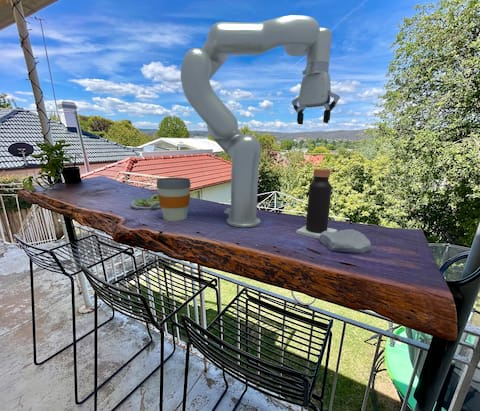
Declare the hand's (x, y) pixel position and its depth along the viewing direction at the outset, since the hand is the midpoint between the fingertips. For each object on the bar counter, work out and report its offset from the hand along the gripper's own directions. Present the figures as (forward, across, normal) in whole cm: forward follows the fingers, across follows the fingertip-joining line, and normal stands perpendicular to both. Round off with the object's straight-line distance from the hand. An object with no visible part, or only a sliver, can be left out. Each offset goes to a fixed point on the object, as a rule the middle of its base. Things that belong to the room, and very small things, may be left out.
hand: (312, 123), depth 87 cm
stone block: (+37, +21, -18) cm, 46 cm away
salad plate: (+37, -65, -28) cm, 80 cm away
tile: (+36, +10, -12) cm, 40 cm away
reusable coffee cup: (+36, -39, -33) cm, 63 cm away
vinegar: (+36, +10, -12) cm, 39 cm away
